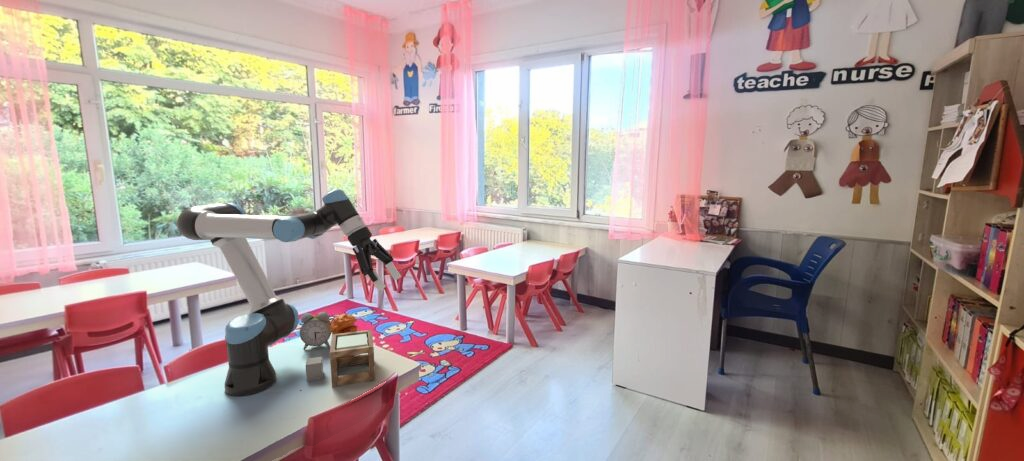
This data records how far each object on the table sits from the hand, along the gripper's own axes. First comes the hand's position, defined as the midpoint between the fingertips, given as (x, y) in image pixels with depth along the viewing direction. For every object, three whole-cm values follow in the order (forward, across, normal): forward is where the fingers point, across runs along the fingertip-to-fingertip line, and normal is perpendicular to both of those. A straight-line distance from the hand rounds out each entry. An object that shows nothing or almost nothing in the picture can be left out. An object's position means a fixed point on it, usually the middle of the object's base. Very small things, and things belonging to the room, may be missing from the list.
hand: (390, 283), depth 146 cm
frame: (+20, +2, +32) cm, 38 cm away
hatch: (+11, +3, +26) cm, 29 cm away
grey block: (+14, -2, +42) cm, 45 cm away
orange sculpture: (+15, +14, +40) cm, 45 cm away
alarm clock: (+6, +21, +53) cm, 57 cm away
